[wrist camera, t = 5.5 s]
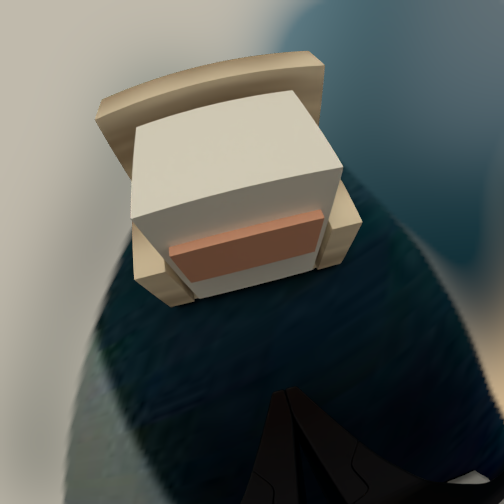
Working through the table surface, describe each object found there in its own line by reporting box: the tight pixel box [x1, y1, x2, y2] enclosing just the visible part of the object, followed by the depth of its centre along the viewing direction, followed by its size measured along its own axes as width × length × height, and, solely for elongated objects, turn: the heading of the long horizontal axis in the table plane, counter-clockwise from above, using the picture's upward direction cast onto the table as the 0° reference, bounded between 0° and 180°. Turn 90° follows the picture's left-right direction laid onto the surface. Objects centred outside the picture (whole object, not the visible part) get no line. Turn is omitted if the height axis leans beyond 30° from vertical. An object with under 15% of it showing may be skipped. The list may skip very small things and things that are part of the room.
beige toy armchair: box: [95, 51, 362, 307], centre depth 14 cm, size 8×11×11 cm
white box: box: [131, 90, 343, 299], centre depth 13 cm, size 5×7×9 cm
